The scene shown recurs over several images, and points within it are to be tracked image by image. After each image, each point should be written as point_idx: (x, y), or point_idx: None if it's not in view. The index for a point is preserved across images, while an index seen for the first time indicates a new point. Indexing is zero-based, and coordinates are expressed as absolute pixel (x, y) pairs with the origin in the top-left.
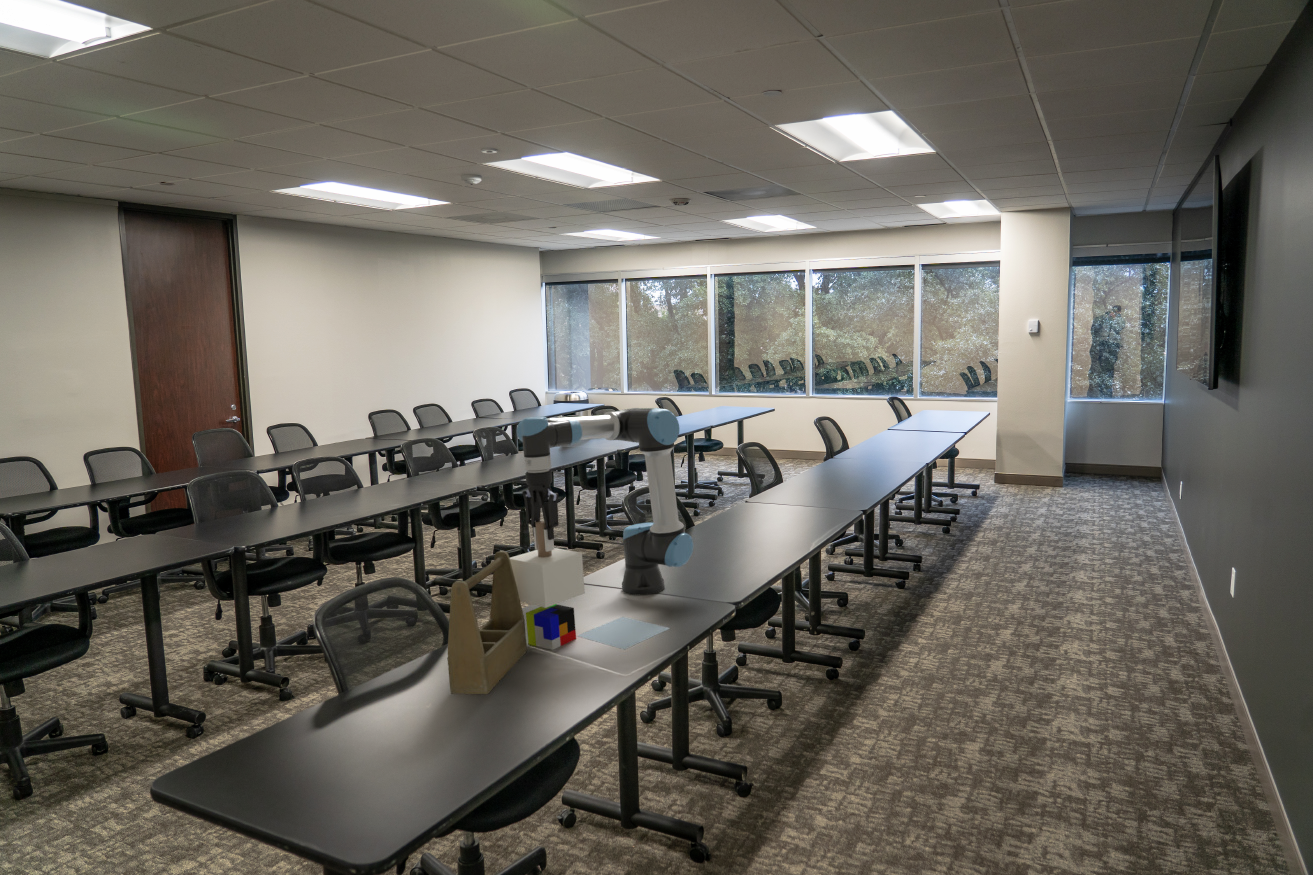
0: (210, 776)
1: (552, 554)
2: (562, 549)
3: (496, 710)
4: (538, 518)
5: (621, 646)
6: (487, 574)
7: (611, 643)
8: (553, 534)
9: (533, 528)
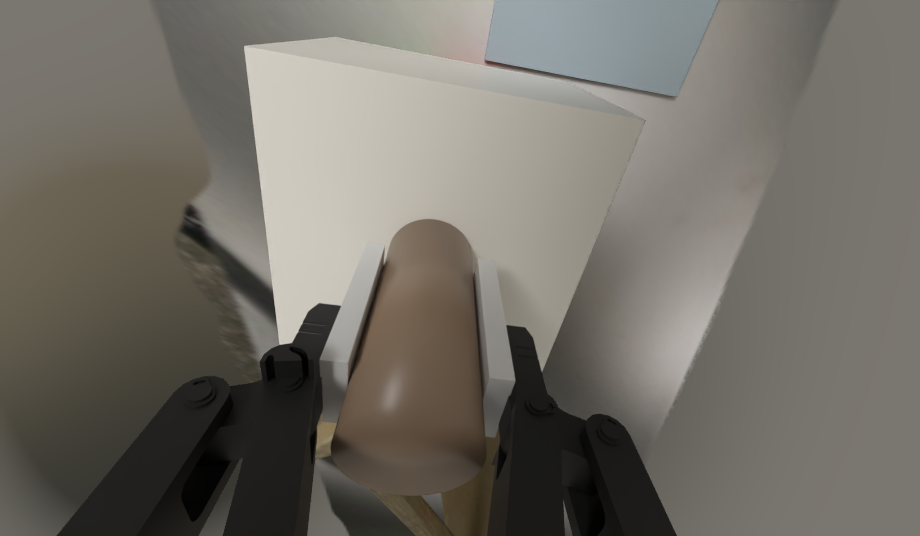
0: (372, 531)
1: (458, 223)
2: (437, 86)
3: (548, 387)
4: (305, 462)
5: (660, 80)
6: (420, 500)
7: (621, 72)
8: (536, 359)
9: (326, 414)
